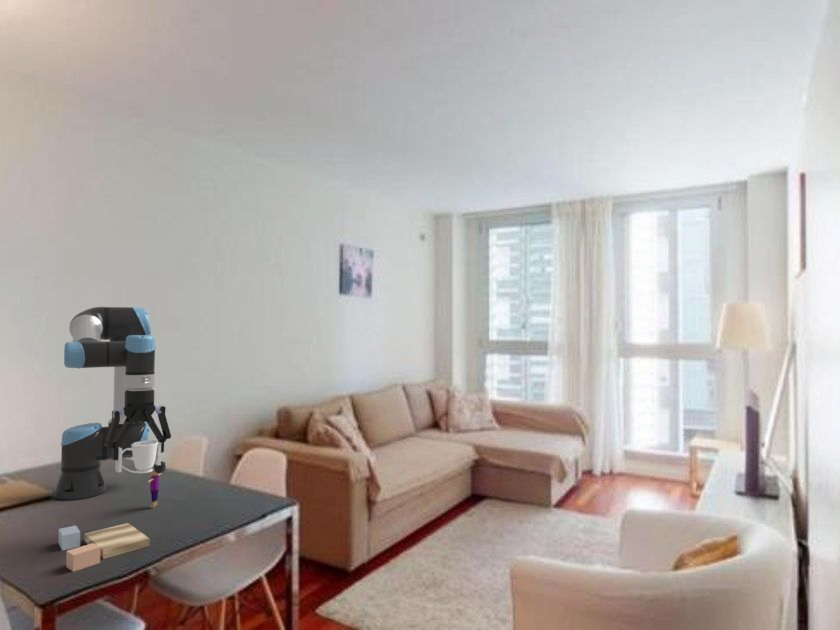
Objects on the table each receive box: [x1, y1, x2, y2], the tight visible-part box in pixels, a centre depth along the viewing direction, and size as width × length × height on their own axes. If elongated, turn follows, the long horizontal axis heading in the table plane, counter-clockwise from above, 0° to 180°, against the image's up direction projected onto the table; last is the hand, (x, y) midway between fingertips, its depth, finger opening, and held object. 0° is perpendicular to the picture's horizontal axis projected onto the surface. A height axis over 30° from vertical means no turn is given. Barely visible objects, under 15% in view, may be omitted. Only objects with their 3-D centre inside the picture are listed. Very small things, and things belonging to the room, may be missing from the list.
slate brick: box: [57, 525, 81, 551], centre depth 144 cm, size 6×4×4 cm, turn 42°
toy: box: [147, 460, 167, 509], centre depth 174 cm, size 10×6×15 cm, turn 5°
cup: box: [122, 440, 158, 474], centre depth 154 cm, size 7×10×8 cm
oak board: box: [83, 522, 151, 560], centre depth 145 cm, size 16×11×2 cm
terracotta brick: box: [65, 543, 101, 572], centre depth 133 cm, size 6×4×4 cm, turn 144°
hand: (138, 467), depth 154 cm, fingers closed on cup, 10 cm apart
